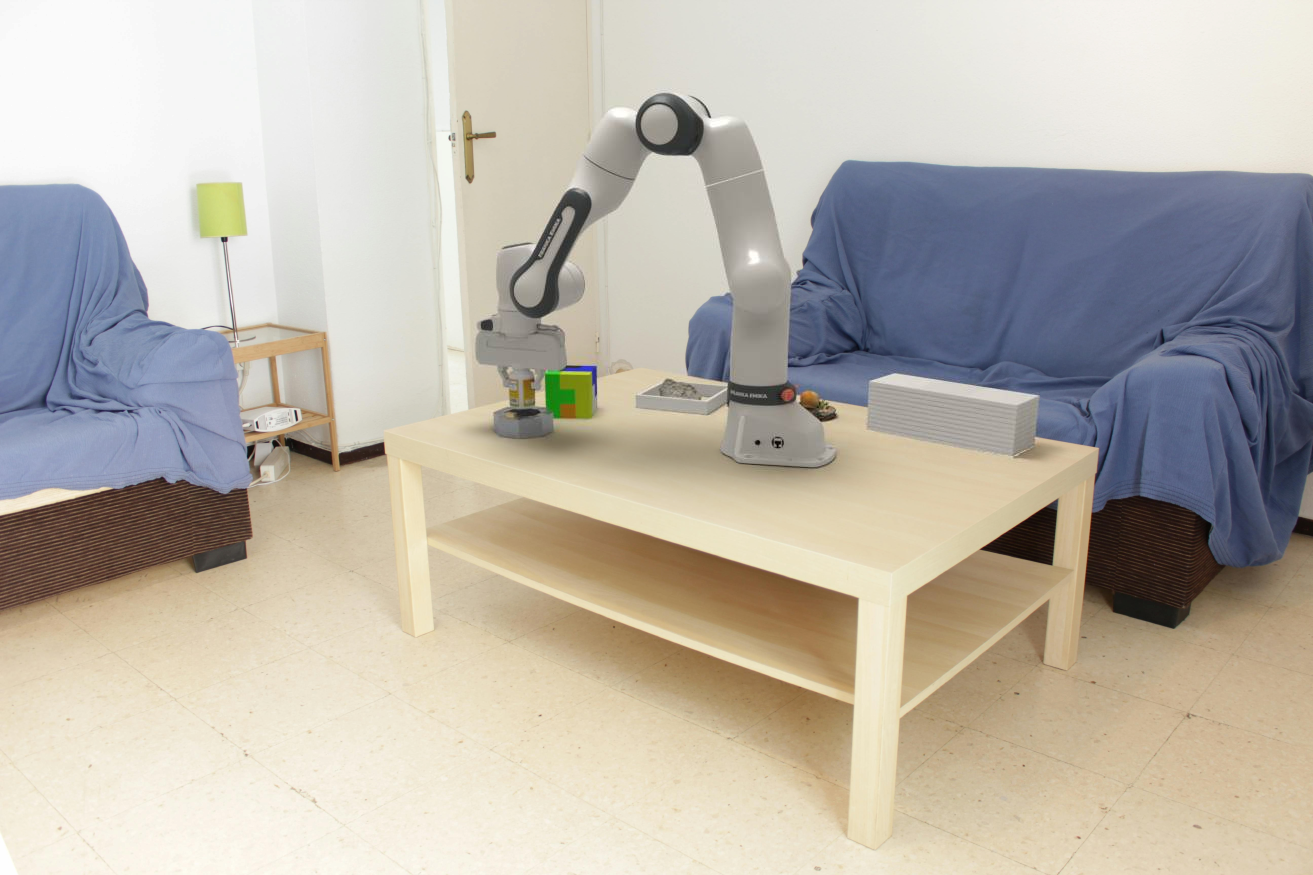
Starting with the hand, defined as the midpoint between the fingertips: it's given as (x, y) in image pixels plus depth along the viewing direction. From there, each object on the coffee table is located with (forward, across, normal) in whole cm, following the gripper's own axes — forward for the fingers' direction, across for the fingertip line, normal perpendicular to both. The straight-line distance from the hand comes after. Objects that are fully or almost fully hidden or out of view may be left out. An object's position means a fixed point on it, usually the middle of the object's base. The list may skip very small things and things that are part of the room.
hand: (522, 388), depth 210 cm
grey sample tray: (+9, -22, -37) cm, 44 cm away
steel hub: (+9, 0, 0) cm, 9 cm away
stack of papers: (+10, -83, -30) cm, 89 cm away
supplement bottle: (+4, 0, 0) cm, 4 cm away
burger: (+10, -52, -37) cm, 65 cm away
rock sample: (+10, -23, -34) cm, 42 cm away
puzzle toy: (+10, -2, -18) cm, 21 cm away
